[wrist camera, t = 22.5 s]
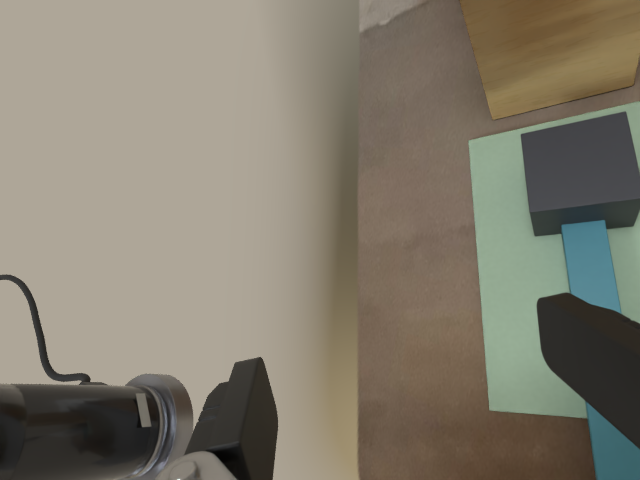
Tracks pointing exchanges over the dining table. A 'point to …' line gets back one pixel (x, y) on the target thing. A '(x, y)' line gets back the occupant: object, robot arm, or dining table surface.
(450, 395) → the dining table surface
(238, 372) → the robot arm
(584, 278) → the hammer
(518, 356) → the mat
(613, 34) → the stand
